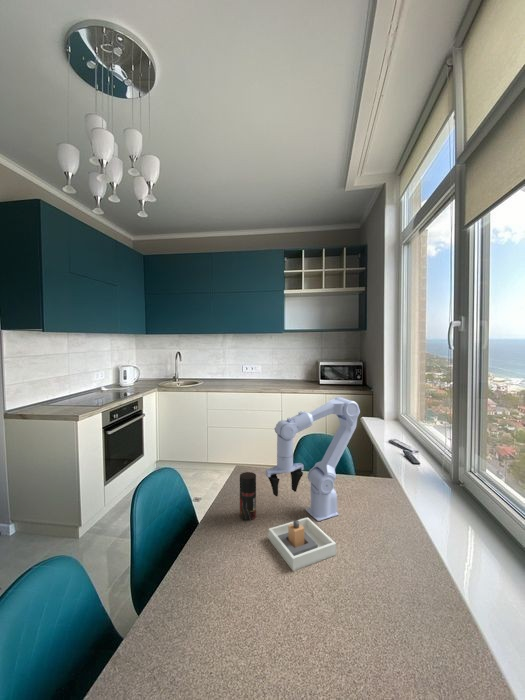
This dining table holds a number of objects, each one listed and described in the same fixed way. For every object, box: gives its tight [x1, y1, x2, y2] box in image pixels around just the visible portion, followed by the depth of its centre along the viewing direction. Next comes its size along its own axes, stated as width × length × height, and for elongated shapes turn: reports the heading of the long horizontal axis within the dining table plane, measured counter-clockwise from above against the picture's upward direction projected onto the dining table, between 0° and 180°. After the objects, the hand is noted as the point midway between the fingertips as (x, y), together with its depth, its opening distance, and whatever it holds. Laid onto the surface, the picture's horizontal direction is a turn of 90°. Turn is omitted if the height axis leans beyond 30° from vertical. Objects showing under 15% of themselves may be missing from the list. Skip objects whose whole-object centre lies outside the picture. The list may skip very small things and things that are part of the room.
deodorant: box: [239, 471, 257, 522], centre depth 110 cm, size 6×6×15 cm
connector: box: [288, 519, 304, 548], centre depth 93 cm, size 4×4×8 cm
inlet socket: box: [278, 531, 318, 556], centre depth 93 cm, size 9×9×2 cm
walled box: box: [268, 516, 337, 572], centre depth 93 cm, size 15×15×4 cm
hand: (284, 492), depth 107 cm, fingers open, 7 cm apart
